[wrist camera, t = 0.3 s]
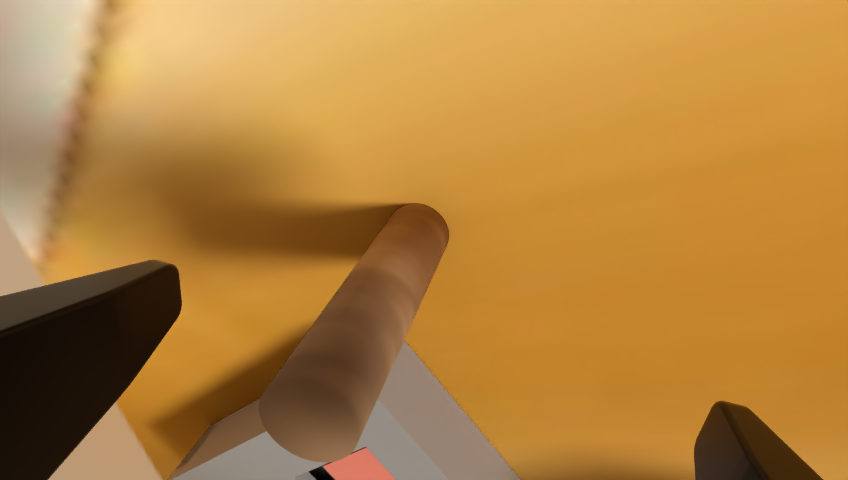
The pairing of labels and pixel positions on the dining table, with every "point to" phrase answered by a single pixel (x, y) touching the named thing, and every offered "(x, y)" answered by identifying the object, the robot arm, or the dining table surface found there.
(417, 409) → the panel
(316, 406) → the tan rounded rod
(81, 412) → the robot arm
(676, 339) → the dining table surface
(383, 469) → the button
